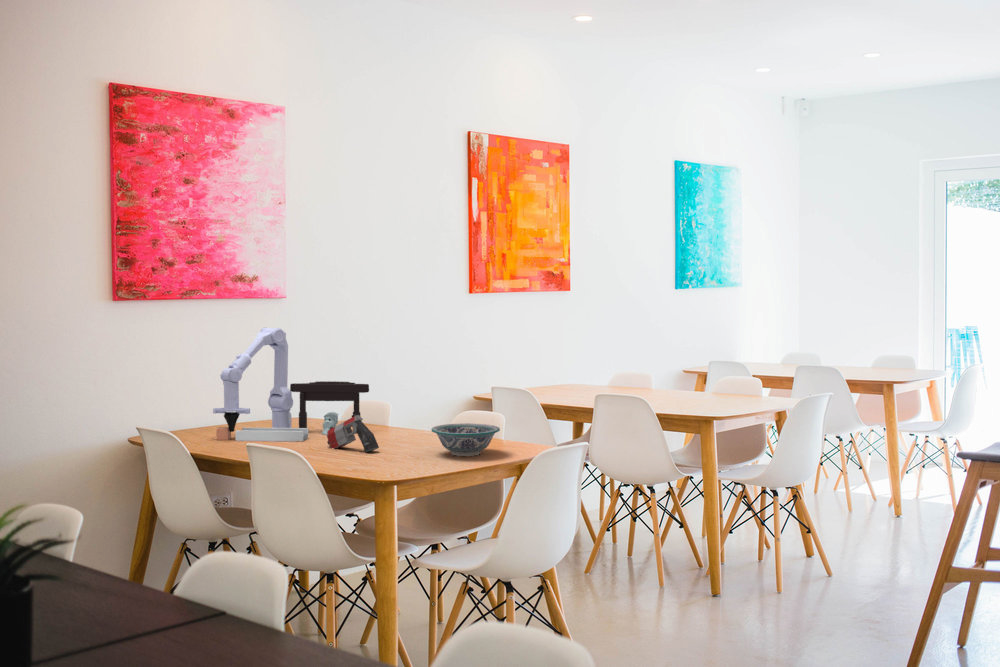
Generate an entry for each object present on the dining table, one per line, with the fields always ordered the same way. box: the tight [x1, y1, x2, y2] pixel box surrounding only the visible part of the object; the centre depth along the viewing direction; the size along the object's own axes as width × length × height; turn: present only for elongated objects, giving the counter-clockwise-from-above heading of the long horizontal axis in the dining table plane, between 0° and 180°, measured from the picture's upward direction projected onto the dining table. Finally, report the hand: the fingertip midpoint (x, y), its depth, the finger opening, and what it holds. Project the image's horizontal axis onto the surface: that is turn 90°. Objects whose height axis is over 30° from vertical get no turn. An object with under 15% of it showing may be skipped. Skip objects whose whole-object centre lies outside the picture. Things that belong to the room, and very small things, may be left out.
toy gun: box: [326, 414, 380, 453], centre depth 362 cm, size 5×22×15 cm, turn 56°
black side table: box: [289, 380, 370, 436], centre depth 404 cm, size 16×21×33 cm
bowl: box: [431, 422, 501, 457], centre depth 353 cm, size 25×25×10 cm
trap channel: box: [235, 427, 309, 442], centre depth 385 cm, size 8×27×4 cm, turn 86°
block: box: [215, 426, 232, 441], centre depth 386 cm, size 4×4×4 cm
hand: (231, 431), depth 386 cm, fingers closed
